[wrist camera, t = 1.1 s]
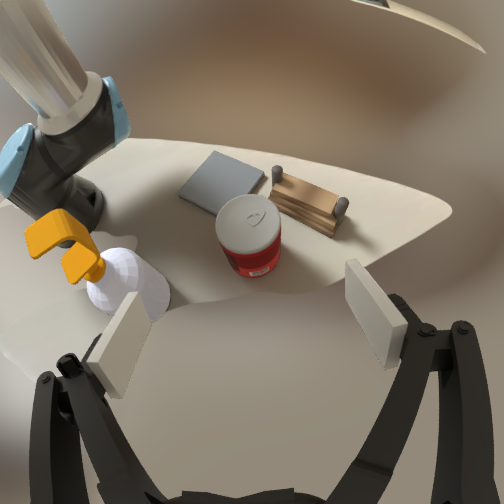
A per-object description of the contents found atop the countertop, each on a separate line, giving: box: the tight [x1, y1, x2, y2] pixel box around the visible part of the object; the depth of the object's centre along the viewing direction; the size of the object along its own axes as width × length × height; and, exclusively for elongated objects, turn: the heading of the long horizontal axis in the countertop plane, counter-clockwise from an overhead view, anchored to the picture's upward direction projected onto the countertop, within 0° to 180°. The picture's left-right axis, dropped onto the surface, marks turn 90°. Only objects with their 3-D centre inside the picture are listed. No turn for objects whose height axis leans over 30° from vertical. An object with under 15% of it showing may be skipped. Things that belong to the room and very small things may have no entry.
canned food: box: [215, 194, 281, 277], centre depth 37 cm, size 8×8×11 cm
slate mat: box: [178, 151, 264, 216], centre depth 47 cm, size 11×11×1 cm
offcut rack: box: [268, 165, 349, 238], centre depth 41 cm, size 12×5×7 cm, turn 57°
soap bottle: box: [25, 209, 170, 323], centre depth 30 cm, size 9×9×25 cm
